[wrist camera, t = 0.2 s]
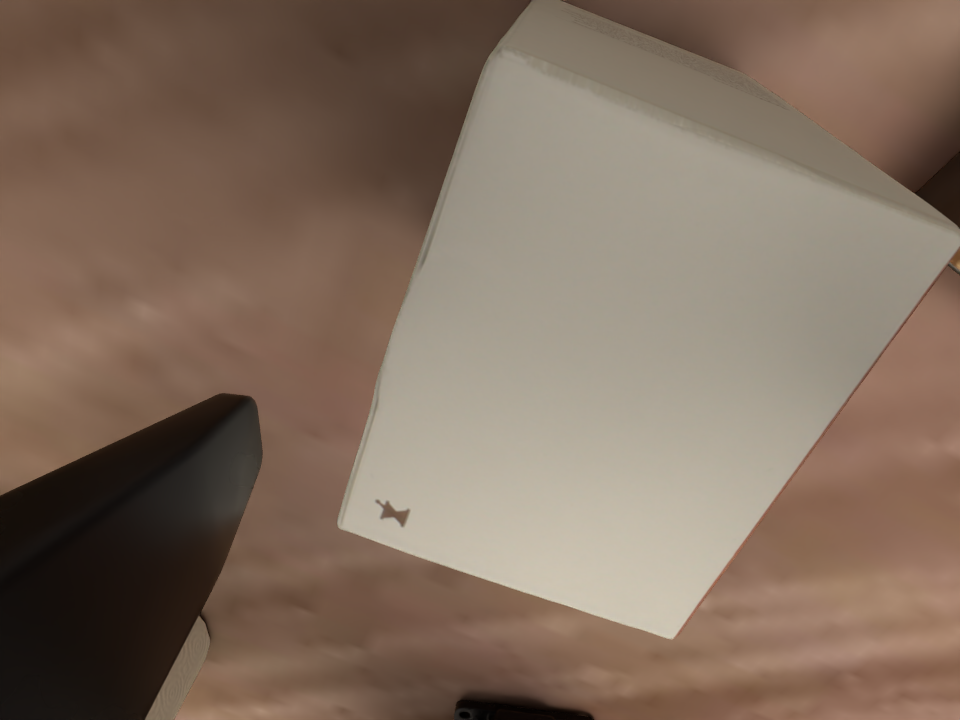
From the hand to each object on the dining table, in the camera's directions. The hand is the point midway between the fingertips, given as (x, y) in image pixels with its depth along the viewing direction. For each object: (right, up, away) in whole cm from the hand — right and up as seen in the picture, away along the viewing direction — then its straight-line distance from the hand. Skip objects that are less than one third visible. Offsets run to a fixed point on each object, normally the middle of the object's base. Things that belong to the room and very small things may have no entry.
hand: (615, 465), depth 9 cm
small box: (+2, +7, +13) cm, 15 cm away
